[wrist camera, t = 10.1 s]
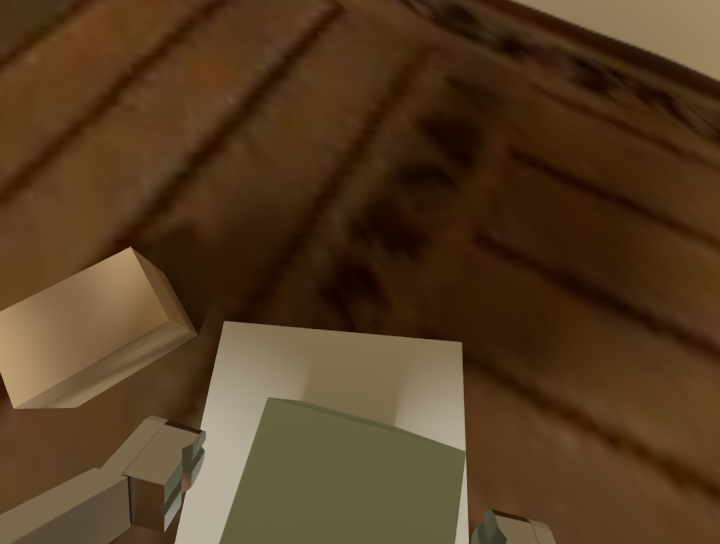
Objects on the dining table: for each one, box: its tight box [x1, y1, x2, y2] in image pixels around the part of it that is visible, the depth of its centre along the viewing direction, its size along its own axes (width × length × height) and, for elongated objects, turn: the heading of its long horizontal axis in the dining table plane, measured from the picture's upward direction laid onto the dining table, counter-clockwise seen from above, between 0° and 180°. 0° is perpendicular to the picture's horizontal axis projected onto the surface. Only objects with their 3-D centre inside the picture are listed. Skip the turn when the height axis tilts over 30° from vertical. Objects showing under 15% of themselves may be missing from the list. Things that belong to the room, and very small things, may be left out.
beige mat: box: [175, 321, 469, 544], centre depth 15 cm, size 12×12×1 cm
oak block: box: [0, 247, 198, 409], centre depth 16 cm, size 6×4×4 cm, turn 125°
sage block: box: [219, 397, 466, 544], centre depth 11 cm, size 4×4×9 cm
